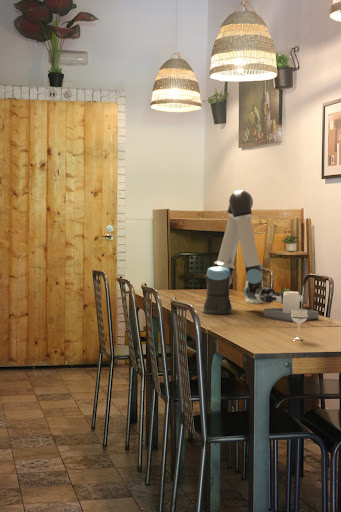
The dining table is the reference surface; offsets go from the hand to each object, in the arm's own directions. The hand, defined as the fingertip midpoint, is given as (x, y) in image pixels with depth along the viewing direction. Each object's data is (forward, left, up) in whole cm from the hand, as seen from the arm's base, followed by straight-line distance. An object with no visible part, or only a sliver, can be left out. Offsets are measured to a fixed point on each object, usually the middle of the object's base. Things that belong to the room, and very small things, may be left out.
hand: (292, 299), depth 353 cm
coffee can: (+26, +64, -10) cm, 70 cm away
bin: (0, 0, -10) cm, 10 cm away
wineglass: (-41, -53, -10) cm, 67 cm away
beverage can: (0, 0, -9) cm, 9 cm away
